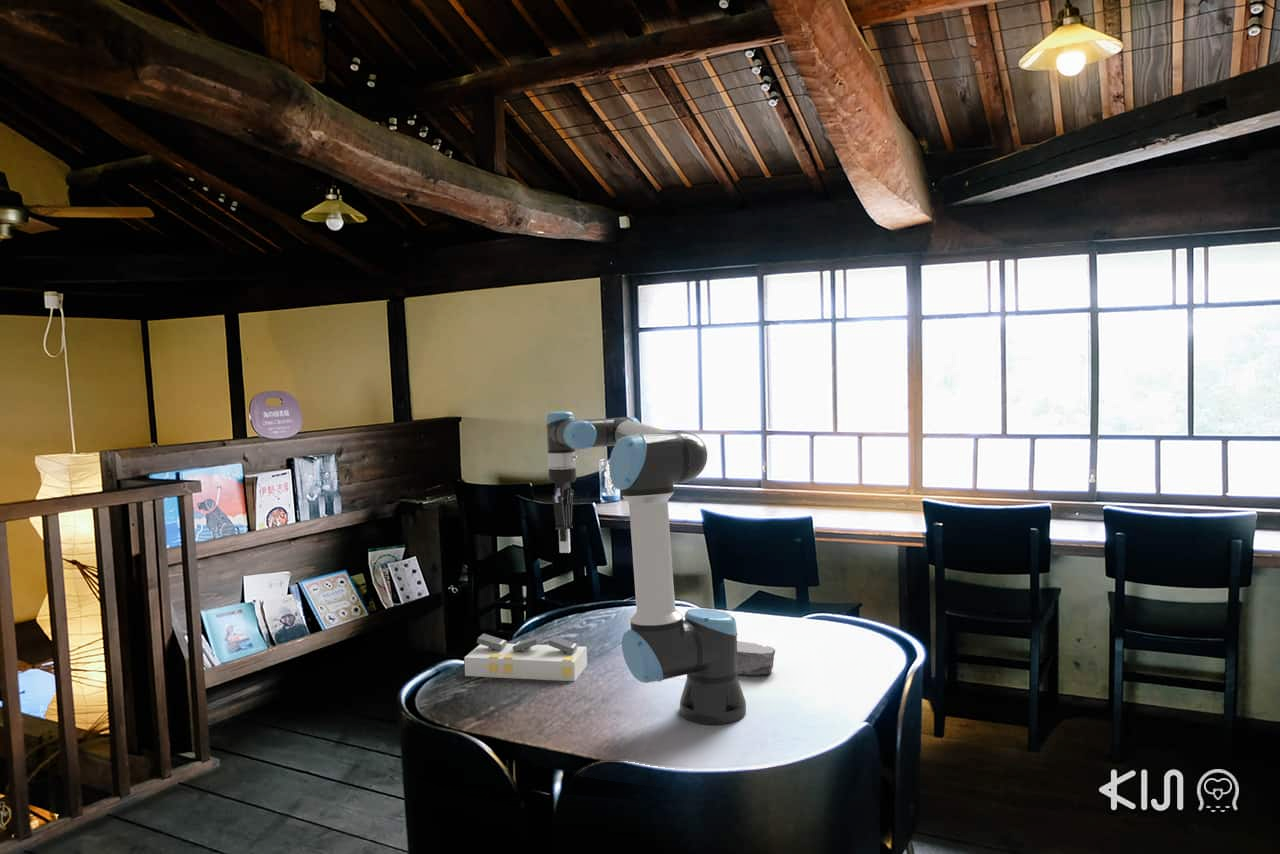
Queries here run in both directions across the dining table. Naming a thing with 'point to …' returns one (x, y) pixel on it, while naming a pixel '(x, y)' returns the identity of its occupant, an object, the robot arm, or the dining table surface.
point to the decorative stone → (754, 659)
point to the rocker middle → (527, 643)
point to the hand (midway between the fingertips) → (565, 552)
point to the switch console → (526, 663)
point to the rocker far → (492, 642)
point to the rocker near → (563, 644)
